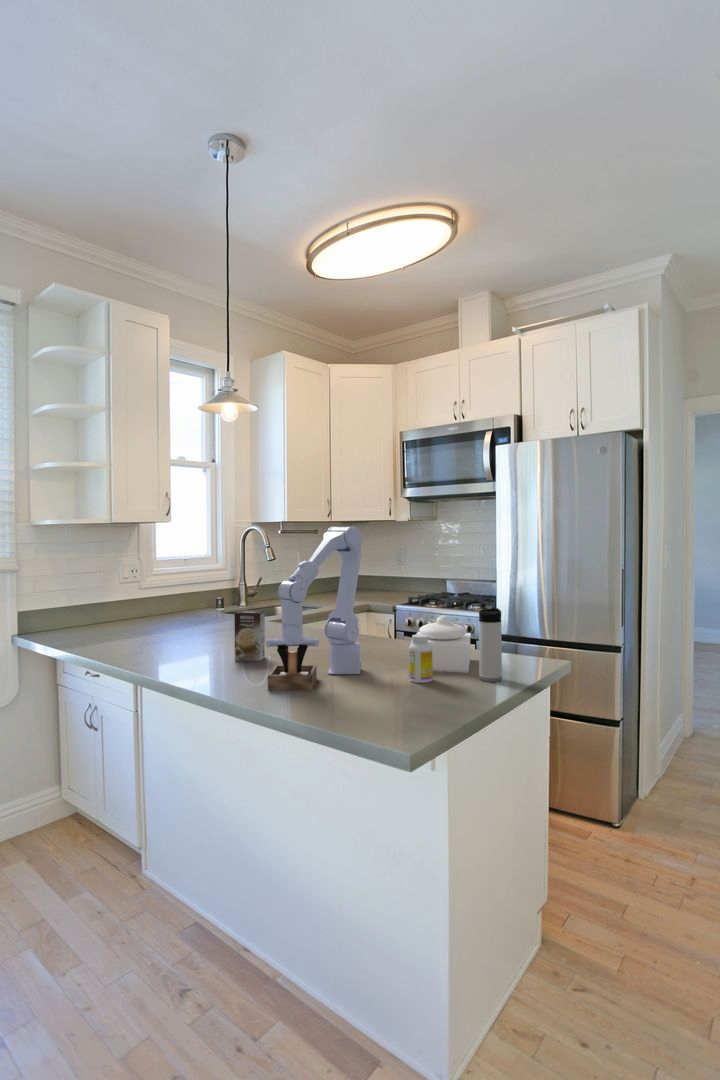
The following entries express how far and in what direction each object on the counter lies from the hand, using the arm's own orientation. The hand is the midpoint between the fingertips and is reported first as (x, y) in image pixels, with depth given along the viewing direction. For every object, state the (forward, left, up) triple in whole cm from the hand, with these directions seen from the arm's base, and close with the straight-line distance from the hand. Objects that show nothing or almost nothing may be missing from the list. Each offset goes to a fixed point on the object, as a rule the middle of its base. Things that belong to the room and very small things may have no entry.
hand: (292, 672), depth 162 cm
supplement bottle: (-36, -3, -4) cm, 36 cm away
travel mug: (-56, -4, -4) cm, 56 cm away
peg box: (0, 0, -3) cm, 3 cm away
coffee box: (+19, -32, -4) cm, 37 cm away
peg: (0, 0, -2) cm, 2 cm away
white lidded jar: (-44, -22, -4) cm, 50 cm away
